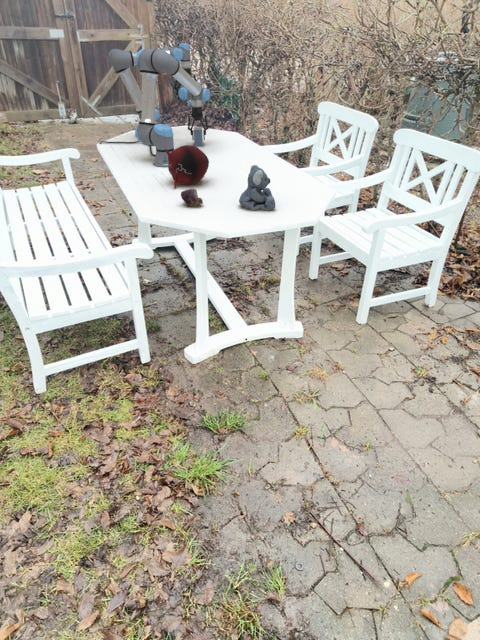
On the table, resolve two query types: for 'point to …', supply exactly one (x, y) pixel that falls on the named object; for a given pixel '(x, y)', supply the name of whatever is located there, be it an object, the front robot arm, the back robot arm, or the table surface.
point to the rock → (191, 197)
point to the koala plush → (257, 191)
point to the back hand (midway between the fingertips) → (187, 99)
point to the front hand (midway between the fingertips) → (198, 139)
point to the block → (198, 136)
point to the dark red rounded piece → (187, 164)
